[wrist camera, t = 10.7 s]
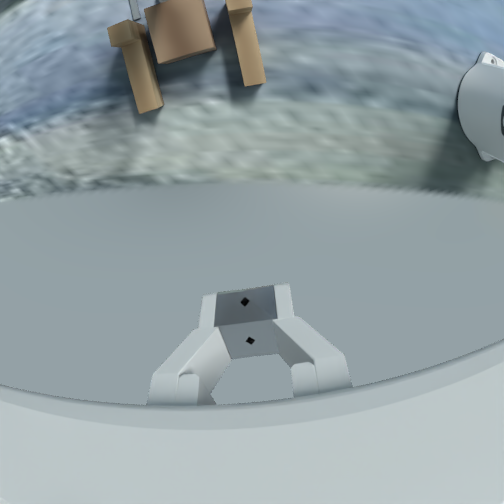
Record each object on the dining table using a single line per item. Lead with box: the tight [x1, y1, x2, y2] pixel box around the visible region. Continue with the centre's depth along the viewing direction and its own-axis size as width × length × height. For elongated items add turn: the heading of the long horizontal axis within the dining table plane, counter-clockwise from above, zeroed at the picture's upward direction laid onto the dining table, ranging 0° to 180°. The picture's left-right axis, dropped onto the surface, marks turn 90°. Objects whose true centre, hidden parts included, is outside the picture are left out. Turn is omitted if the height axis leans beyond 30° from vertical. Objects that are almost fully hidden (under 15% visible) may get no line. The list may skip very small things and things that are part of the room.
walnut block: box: [144, 0, 217, 64], centre depth 25 cm, size 6×7×5 cm
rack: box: [107, 0, 266, 114], centre depth 26 cm, size 15×11×6 cm
